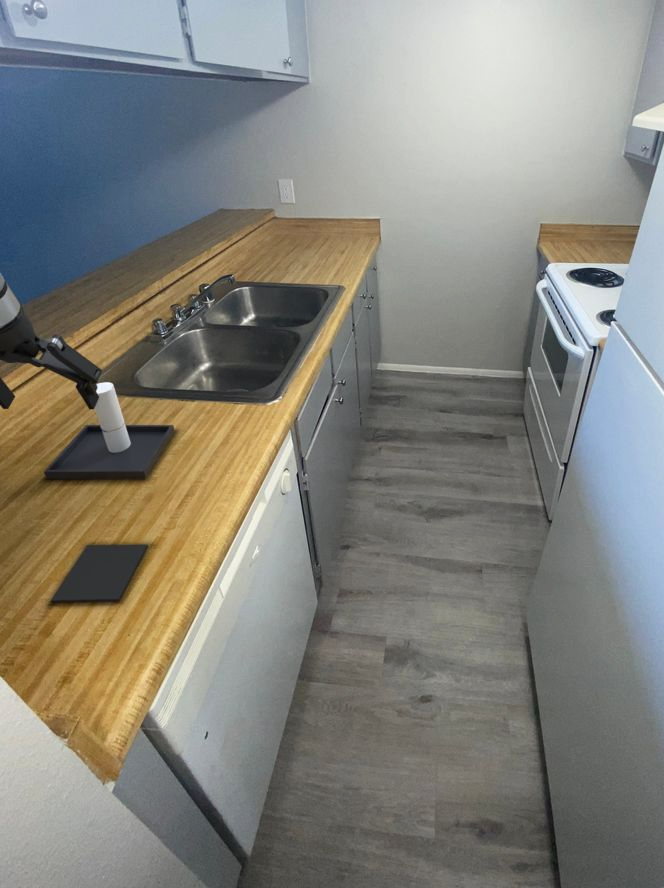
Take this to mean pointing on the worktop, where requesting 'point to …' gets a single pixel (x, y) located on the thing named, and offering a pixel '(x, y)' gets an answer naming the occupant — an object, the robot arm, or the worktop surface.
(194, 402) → the worktop surface
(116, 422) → the tube
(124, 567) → the mat
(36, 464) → the worktop surface
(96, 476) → the tray
